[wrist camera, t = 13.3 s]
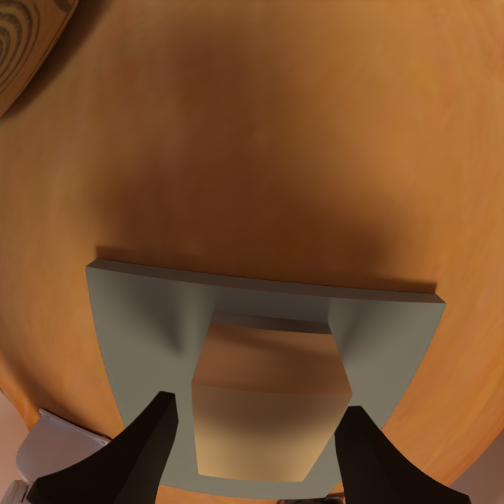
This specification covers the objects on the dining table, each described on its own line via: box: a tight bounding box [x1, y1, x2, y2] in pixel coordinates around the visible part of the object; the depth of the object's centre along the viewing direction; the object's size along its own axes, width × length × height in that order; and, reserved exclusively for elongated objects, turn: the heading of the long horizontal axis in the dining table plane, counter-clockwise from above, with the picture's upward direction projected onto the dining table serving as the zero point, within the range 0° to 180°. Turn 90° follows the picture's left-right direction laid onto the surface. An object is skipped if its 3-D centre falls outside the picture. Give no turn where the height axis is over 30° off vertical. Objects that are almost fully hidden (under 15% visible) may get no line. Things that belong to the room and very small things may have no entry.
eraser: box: [191, 311, 353, 482], centre depth 11 cm, size 5×7×4 cm
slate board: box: [85, 259, 446, 499], centre depth 15 cm, size 18×24×1 cm
